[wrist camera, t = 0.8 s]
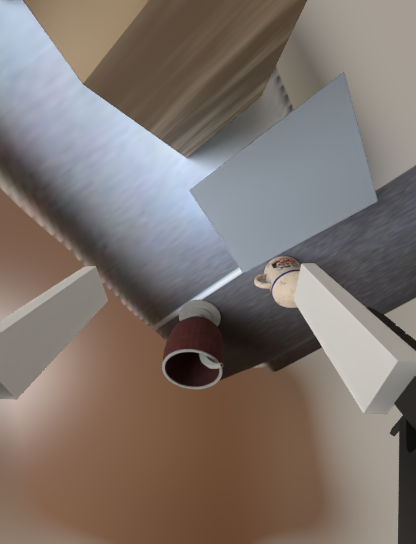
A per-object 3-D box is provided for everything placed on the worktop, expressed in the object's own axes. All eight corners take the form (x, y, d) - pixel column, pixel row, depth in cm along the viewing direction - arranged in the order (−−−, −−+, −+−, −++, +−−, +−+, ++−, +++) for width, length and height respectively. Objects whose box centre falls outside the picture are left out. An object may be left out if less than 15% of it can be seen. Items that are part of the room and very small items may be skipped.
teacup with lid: (303, 253, 43) (330, 277, 32) (296, 286, 47) (318, 316, 36) (252, 254, 44) (262, 277, 33) (250, 287, 48) (258, 316, 37)
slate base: (203, 186, 37) (189, 190, 20) (276, 131, 33) (344, 71, 15) (233, 233, 41) (243, 273, 24) (301, 191, 37) (377, 201, 19)
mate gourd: (200, 340, 58) (191, 411, 40) (167, 315, 54) (141, 381, 36) (237, 315, 52) (246, 385, 34) (203, 285, 48) (194, 345, 30)
